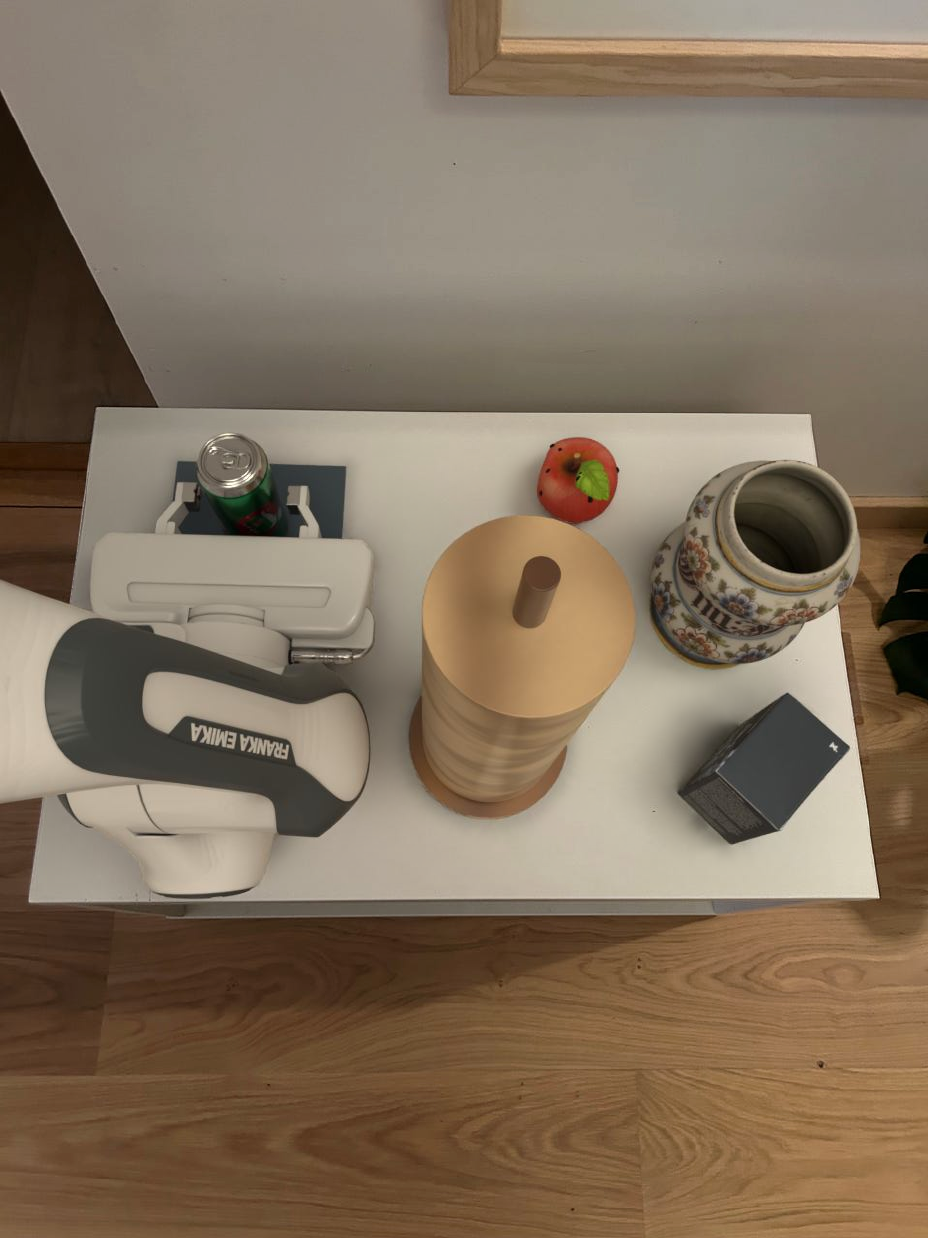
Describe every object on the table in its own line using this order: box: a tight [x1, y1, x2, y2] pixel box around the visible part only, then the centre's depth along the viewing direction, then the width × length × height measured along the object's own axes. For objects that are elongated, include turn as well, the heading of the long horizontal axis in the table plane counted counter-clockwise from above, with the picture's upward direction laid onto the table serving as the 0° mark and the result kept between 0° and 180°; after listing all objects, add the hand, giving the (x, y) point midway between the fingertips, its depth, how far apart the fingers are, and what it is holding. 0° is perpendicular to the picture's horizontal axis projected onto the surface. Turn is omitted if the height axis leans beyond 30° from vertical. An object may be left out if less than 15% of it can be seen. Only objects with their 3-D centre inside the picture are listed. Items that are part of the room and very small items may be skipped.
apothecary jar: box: [649, 459, 861, 670], centre depth 68 cm, size 12×12×18 cm
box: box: [677, 692, 851, 846], centre depth 67 cm, size 8×6×11 cm
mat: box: [172, 460, 347, 539], centre depth 77 cm, size 14×12×1 cm
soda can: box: [196, 432, 288, 537], centre depth 71 cm, size 5×5×12 cm
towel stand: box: [408, 514, 637, 820], centre depth 56 cm, size 12×12×35 cm
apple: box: [536, 436, 620, 524], centre depth 74 cm, size 8×7×10 cm
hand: (244, 486), depth 71 cm, fingers open, 7 cm apart
